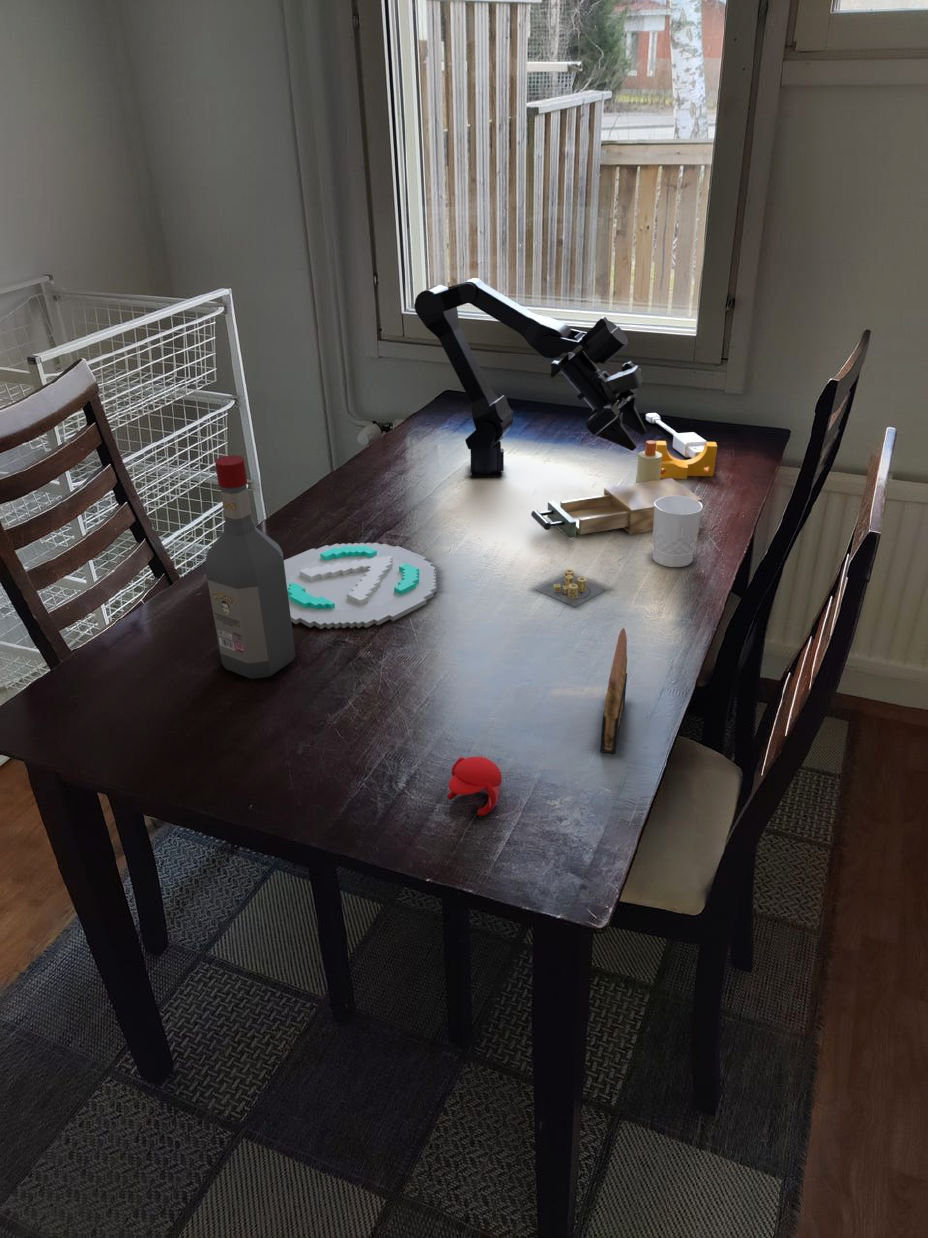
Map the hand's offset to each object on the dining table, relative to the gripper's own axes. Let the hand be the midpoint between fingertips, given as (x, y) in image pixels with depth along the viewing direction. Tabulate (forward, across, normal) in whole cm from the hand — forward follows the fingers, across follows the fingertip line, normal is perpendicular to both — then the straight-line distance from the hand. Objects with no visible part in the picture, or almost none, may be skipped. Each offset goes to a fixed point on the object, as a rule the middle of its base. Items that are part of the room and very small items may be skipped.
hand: (639, 441), depth 178 cm
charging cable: (+9, +32, +6) cm, 34 cm away
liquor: (-19, -80, +34) cm, 88 cm away
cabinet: (+11, -11, +4) cm, 16 cm away
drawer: (+3, -20, +11) cm, 23 cm away
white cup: (+16, -28, -1) cm, 32 cm away
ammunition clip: (+17, -78, -2) cm, 80 cm away
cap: (+9, -97, +6) cm, 98 cm away
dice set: (+7, -44, +8) cm, 45 cm away
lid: (-18, -54, +33) cm, 66 cm away
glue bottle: (+9, 0, +6) cm, 11 cm away
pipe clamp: (+13, +12, +2) cm, 18 cm away
